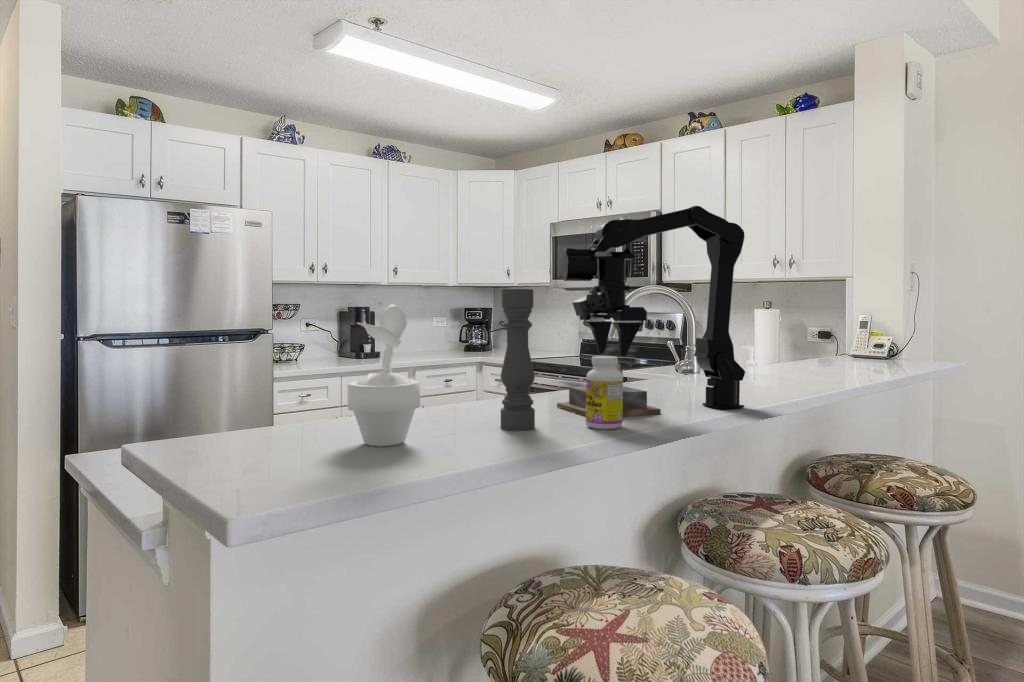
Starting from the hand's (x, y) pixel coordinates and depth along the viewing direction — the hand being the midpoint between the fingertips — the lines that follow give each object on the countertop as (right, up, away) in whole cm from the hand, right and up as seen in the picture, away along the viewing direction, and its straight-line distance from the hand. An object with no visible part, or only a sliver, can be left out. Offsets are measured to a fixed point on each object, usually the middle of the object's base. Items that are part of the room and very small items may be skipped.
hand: (611, 354), depth 140 cm
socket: (-1, -12, -1) cm, 12 cm away
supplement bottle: (-4, -13, -20) cm, 24 cm away
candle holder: (-20, -13, -21) cm, 32 cm away
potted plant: (-42, -14, -35) cm, 56 cm away
